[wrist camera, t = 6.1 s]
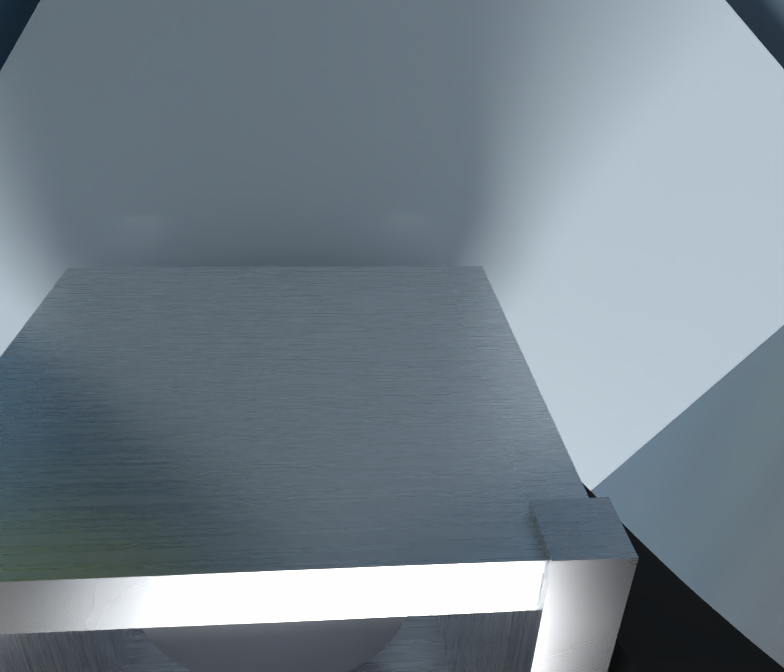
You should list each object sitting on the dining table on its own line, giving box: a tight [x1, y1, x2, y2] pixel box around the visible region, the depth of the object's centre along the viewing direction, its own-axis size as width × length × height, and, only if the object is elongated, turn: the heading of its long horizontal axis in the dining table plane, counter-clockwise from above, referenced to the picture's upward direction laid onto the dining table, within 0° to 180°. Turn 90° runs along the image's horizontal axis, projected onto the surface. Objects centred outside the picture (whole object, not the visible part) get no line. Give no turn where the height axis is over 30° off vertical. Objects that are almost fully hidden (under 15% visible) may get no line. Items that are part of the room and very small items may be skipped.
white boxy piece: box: [0, 266, 639, 672], centre depth 8 cm, size 5×5×5 cm
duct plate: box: [0, 0, 784, 672], centre depth 10 cm, size 18×11×5 cm, turn 140°
